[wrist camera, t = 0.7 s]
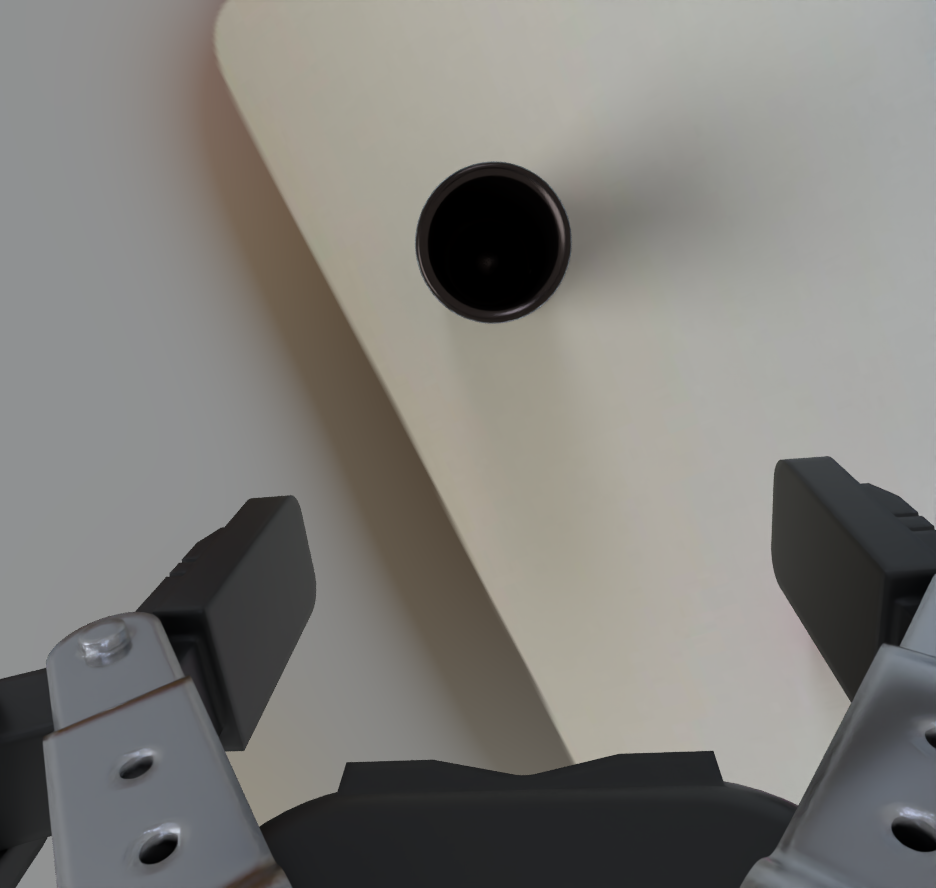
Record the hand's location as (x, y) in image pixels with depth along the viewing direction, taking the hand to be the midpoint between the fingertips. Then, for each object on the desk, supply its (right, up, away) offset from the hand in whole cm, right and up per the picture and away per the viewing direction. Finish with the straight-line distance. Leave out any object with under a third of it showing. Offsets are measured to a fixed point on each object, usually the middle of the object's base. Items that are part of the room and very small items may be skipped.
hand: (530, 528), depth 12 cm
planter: (0, +9, +19) cm, 21 cm away
